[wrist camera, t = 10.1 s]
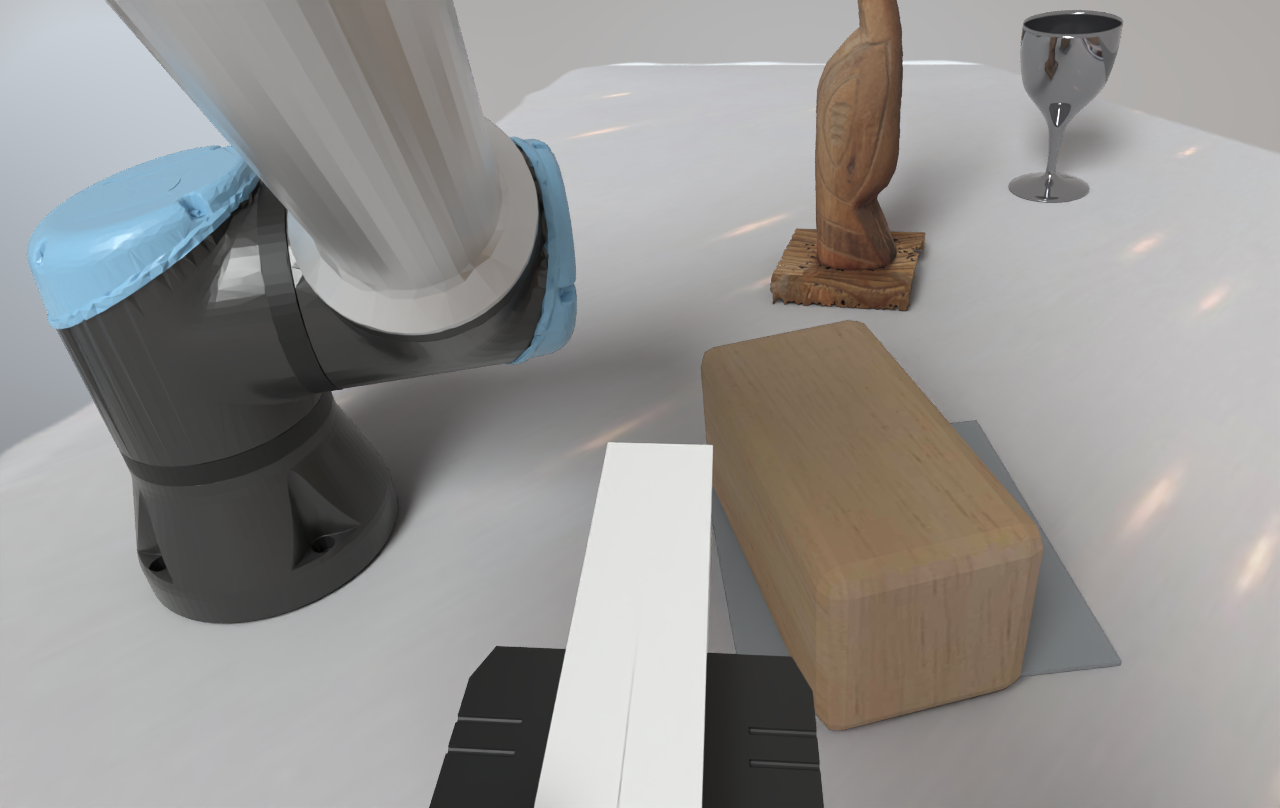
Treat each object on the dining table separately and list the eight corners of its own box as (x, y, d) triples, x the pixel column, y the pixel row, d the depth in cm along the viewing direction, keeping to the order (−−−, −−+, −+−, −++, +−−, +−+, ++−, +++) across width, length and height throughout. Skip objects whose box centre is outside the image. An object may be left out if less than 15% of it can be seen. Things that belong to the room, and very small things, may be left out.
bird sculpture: (919, 316, 75) (970, -156, 57) (769, 306, 78) (772, -147, 60) (923, 253, 84) (969, -174, 66) (788, 246, 87) (797, -164, 69)
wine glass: (1052, 211, 87) (1077, 39, 79) (985, 186, 93) (1002, 24, 85) (1113, 187, 90) (1144, 19, 82) (1045, 164, 96) (1067, 5, 88)
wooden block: (1026, 692, 45) (857, 447, 62) (1057, 533, 40) (862, 310, 56) (823, 745, 44) (706, 480, 60) (825, 588, 38) (694, 343, 55)
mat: (700, 455, 63) (700, 452, 63) (976, 423, 63) (976, 420, 63) (746, 707, 47) (745, 703, 46) (1120, 665, 46) (1121, 660, 46)
